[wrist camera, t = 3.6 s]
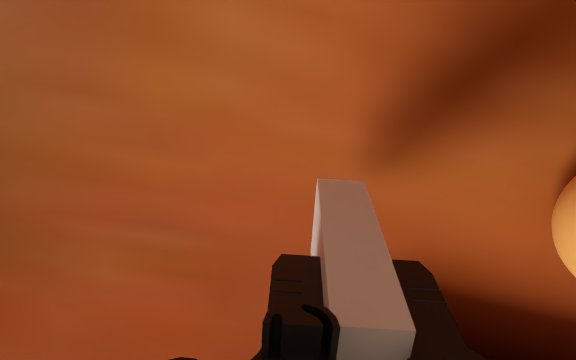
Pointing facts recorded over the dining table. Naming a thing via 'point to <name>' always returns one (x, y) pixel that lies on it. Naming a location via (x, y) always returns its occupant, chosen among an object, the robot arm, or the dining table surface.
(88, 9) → the dining table surface
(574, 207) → the ball
